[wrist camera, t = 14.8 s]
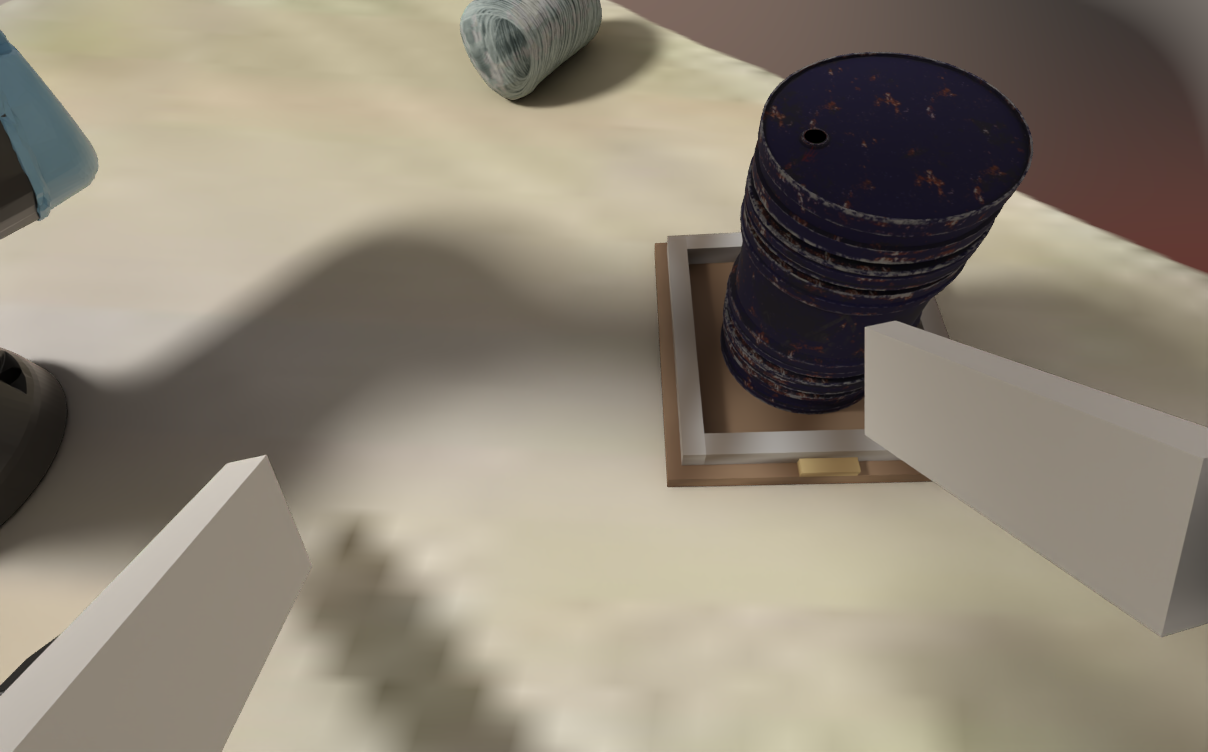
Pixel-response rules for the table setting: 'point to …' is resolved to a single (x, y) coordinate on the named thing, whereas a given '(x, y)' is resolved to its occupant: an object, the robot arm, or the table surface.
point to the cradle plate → (745, 392)
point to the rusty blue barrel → (860, 215)
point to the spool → (525, 39)
